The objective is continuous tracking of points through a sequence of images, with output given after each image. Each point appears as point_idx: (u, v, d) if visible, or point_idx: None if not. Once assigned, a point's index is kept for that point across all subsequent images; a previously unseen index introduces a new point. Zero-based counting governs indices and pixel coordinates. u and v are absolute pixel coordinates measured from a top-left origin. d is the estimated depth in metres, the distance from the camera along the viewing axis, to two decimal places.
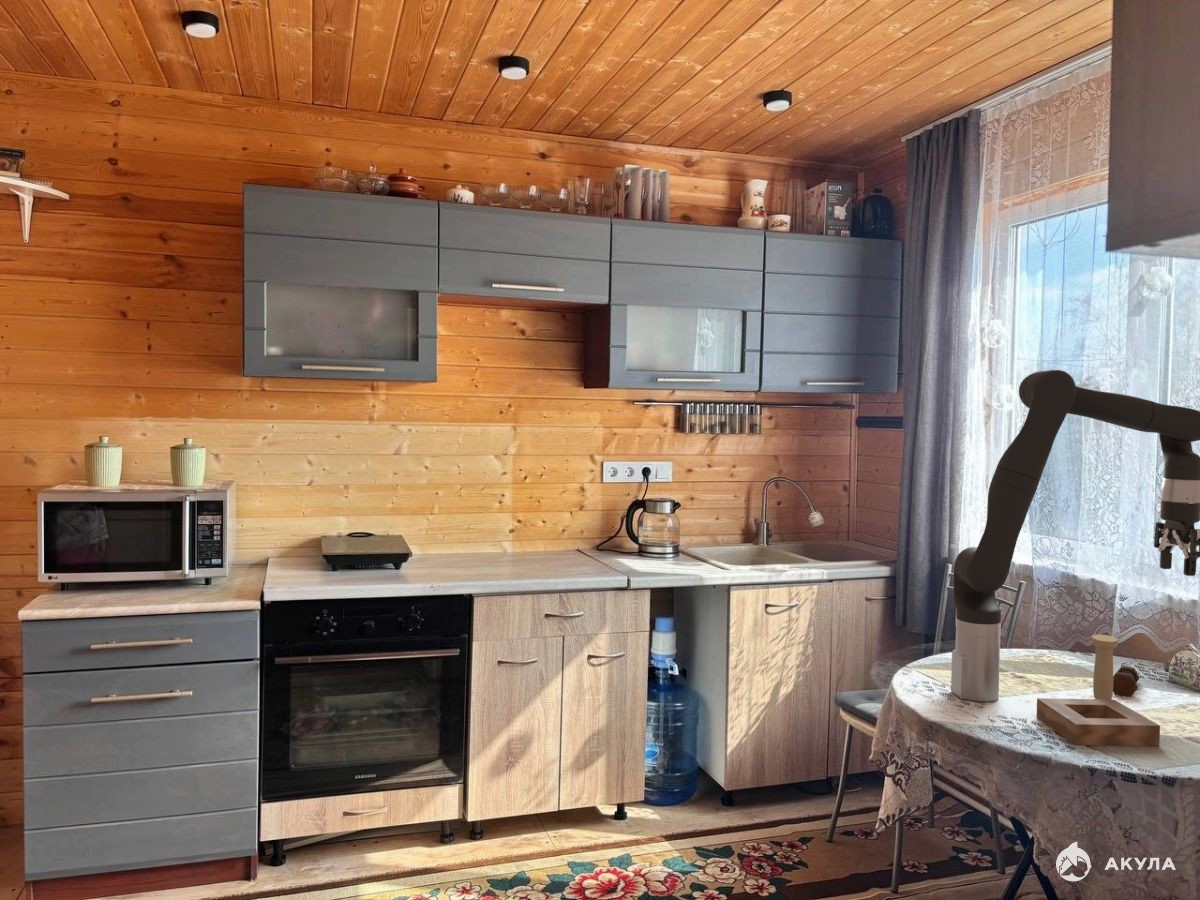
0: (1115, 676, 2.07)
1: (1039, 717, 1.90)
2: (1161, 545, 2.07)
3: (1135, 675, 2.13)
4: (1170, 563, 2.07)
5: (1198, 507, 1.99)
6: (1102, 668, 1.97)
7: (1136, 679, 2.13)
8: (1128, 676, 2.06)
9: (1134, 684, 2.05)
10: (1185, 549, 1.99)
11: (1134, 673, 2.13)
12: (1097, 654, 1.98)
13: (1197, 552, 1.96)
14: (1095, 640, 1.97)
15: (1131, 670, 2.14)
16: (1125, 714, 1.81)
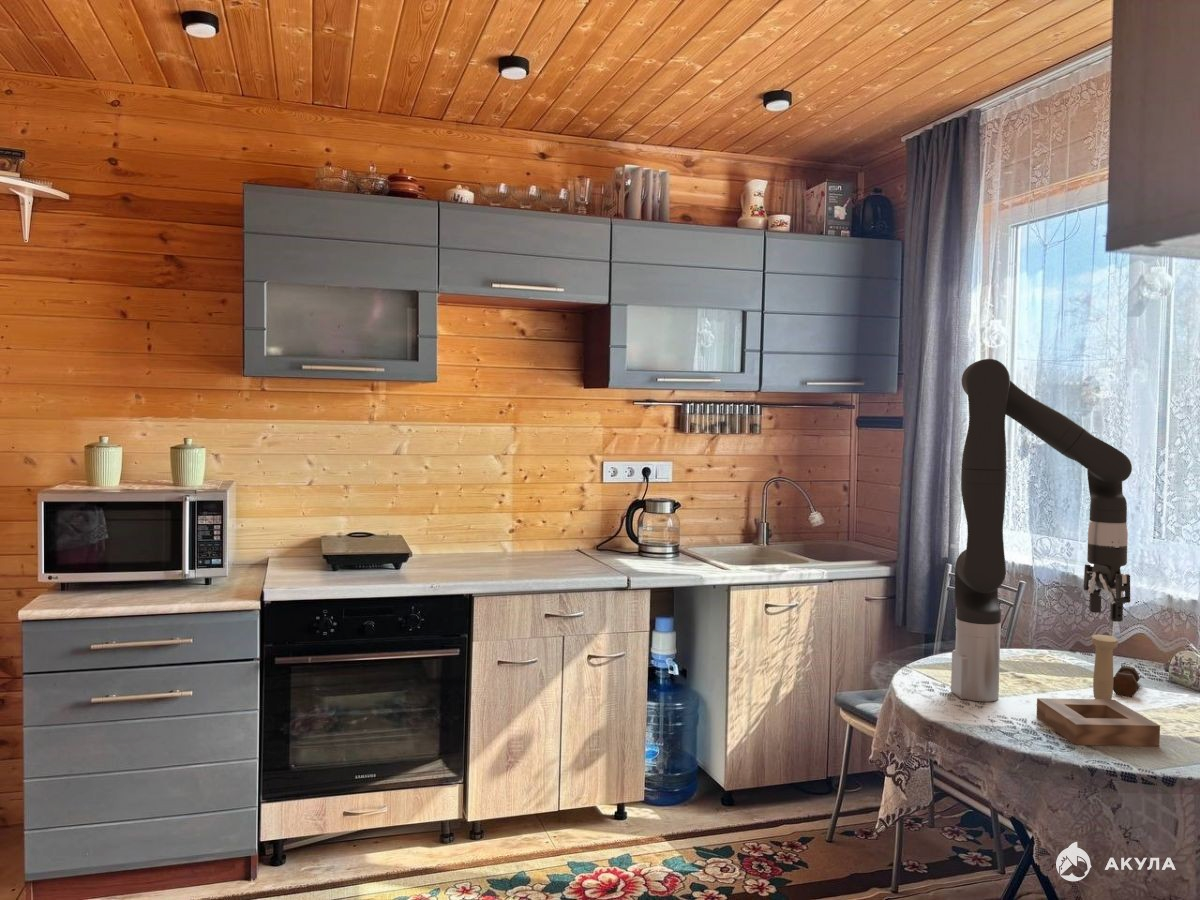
0: (1116, 676, 2.07)
1: (1039, 717, 1.90)
2: (1090, 588, 2.02)
3: (1135, 675, 2.13)
4: (1099, 606, 2.02)
5: (1124, 550, 1.94)
6: (1102, 668, 1.97)
7: (1136, 679, 2.13)
8: (1129, 676, 2.06)
9: (1135, 684, 2.05)
10: (1111, 594, 1.93)
11: (1134, 673, 2.13)
12: (1097, 654, 1.98)
13: (1123, 598, 1.91)
14: (1095, 640, 1.97)
15: (1131, 670, 2.14)
16: (1125, 714, 1.81)
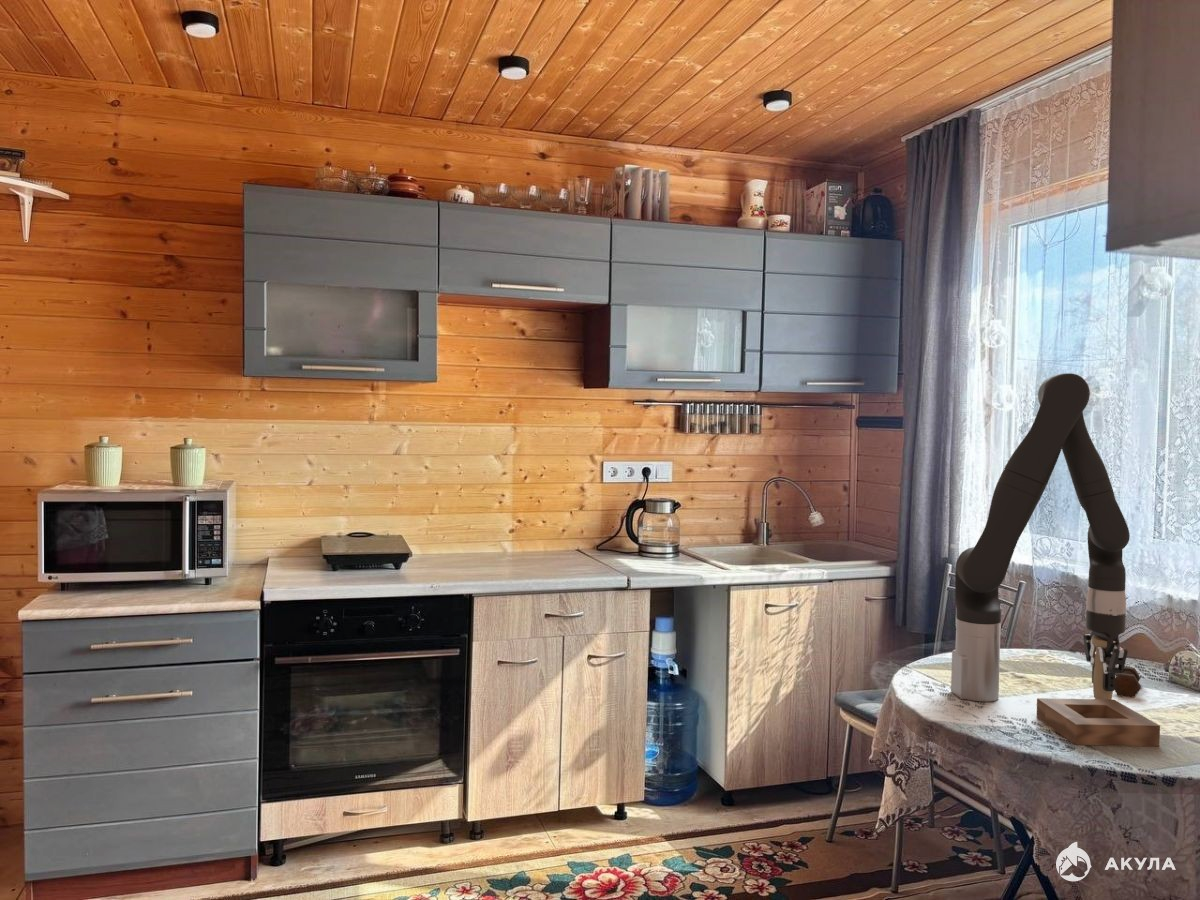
0: (1118, 677, 2.07)
1: (1039, 717, 1.90)
2: (1092, 659, 2.01)
3: (1136, 675, 2.13)
4: None
5: (1122, 619, 1.95)
6: (1102, 668, 1.97)
7: (1137, 679, 2.13)
8: (1131, 677, 2.05)
9: (1137, 685, 2.05)
10: (1105, 664, 1.95)
11: (1135, 673, 2.13)
12: (1097, 654, 1.98)
13: (1115, 668, 1.93)
14: (1095, 640, 1.97)
15: (1132, 670, 2.14)
16: (1125, 714, 1.81)
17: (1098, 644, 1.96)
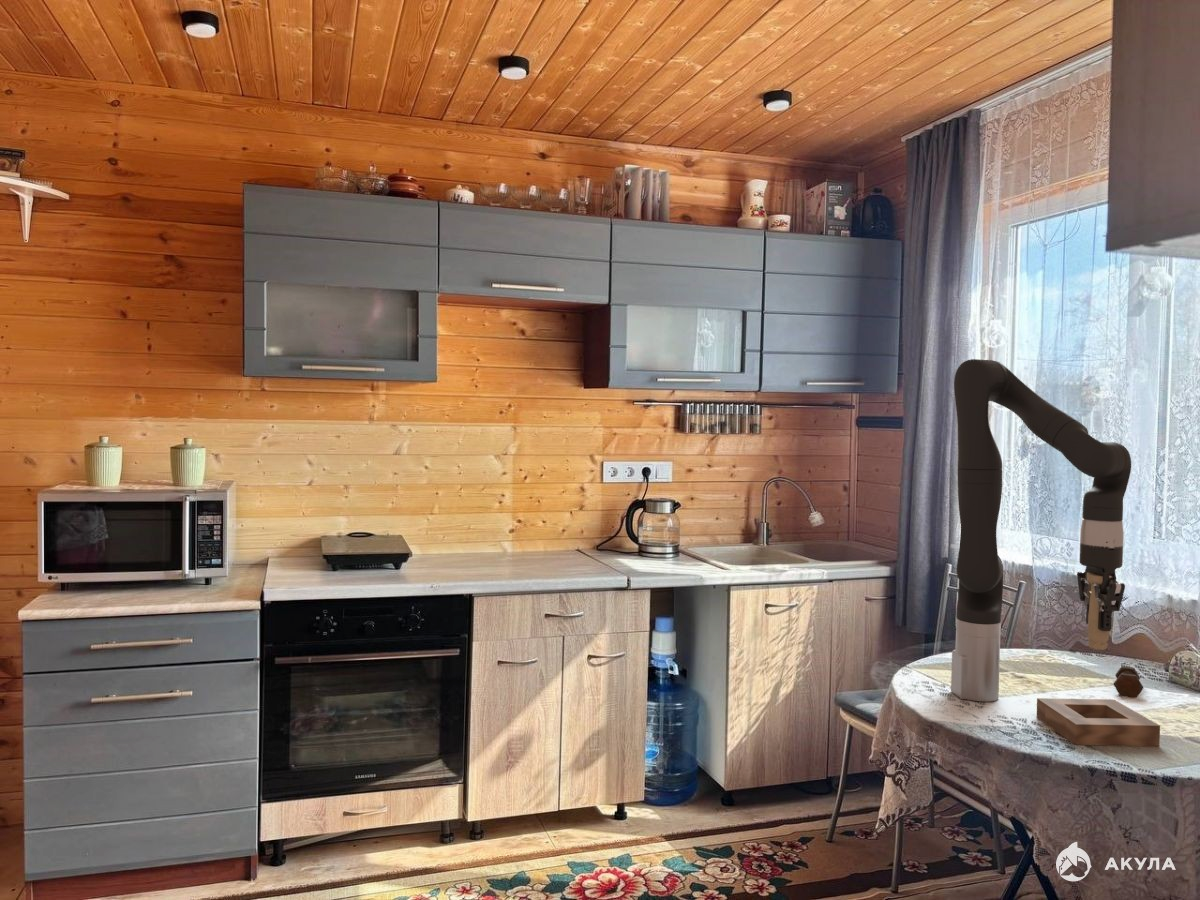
0: (1121, 677, 2.06)
1: (1039, 717, 1.90)
2: (1086, 598, 1.84)
3: (1136, 675, 2.13)
4: None
5: (1119, 551, 1.78)
6: (1097, 606, 1.80)
7: None
8: (1134, 677, 2.05)
9: (1140, 685, 2.04)
10: (1101, 602, 1.79)
11: (1135, 673, 2.13)
12: (1092, 591, 1.81)
13: (1111, 606, 1.77)
14: (1090, 576, 1.81)
15: (1132, 670, 2.14)
16: (1125, 714, 1.81)
17: (1093, 580, 1.80)
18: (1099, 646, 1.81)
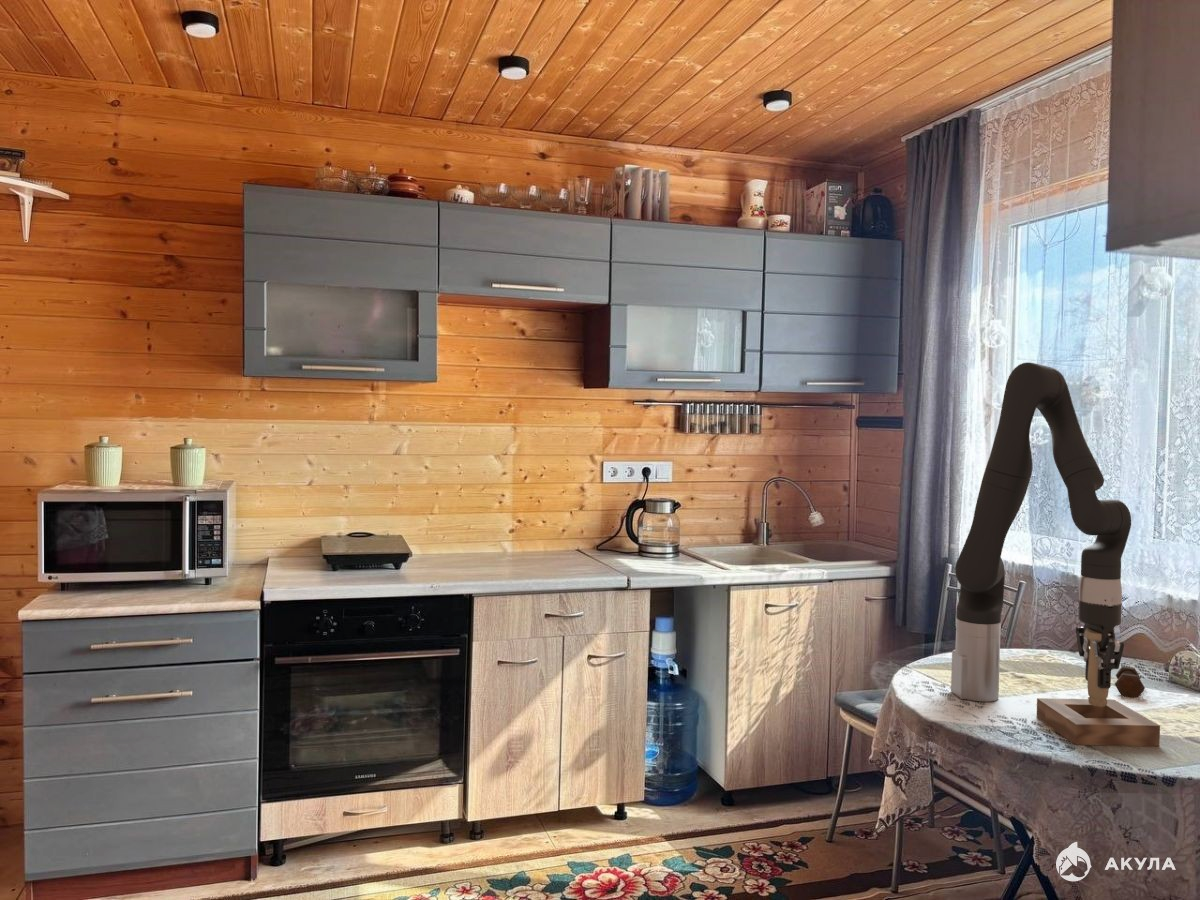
0: (1122, 677, 2.06)
1: (1039, 717, 1.90)
2: (1085, 653, 1.85)
3: None
4: None
5: (1118, 609, 1.79)
6: (1097, 663, 1.81)
7: None
8: (1135, 677, 2.05)
9: (1141, 685, 2.04)
10: (1100, 659, 1.79)
11: (1135, 673, 2.13)
12: (1091, 648, 1.82)
13: (1111, 664, 1.77)
14: (1089, 633, 1.81)
15: (1132, 670, 2.13)
16: (1125, 714, 1.81)
17: (1092, 637, 1.80)
18: (1099, 703, 1.81)
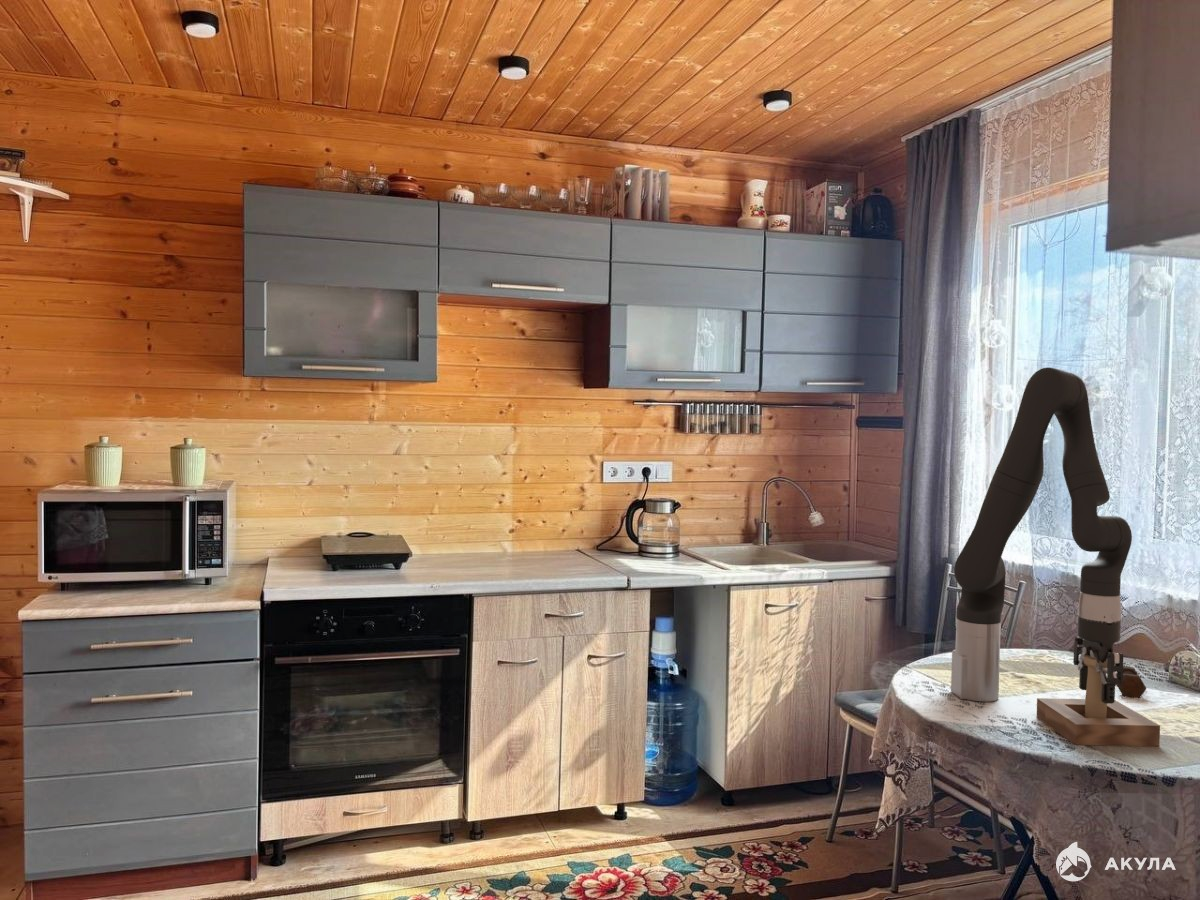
0: (1124, 678, 2.06)
1: (1039, 717, 1.90)
2: (1080, 663, 1.86)
3: (1136, 675, 2.13)
4: None
5: (1117, 626, 1.79)
6: (1094, 690, 1.81)
7: None
8: (1137, 677, 2.05)
9: (1143, 685, 2.04)
10: (1103, 674, 1.78)
11: (1135, 673, 2.13)
12: (1089, 674, 1.82)
13: (1115, 679, 1.75)
14: (1087, 659, 1.81)
15: (1132, 670, 2.13)
16: (1125, 714, 1.81)
17: (1090, 664, 1.80)
18: None
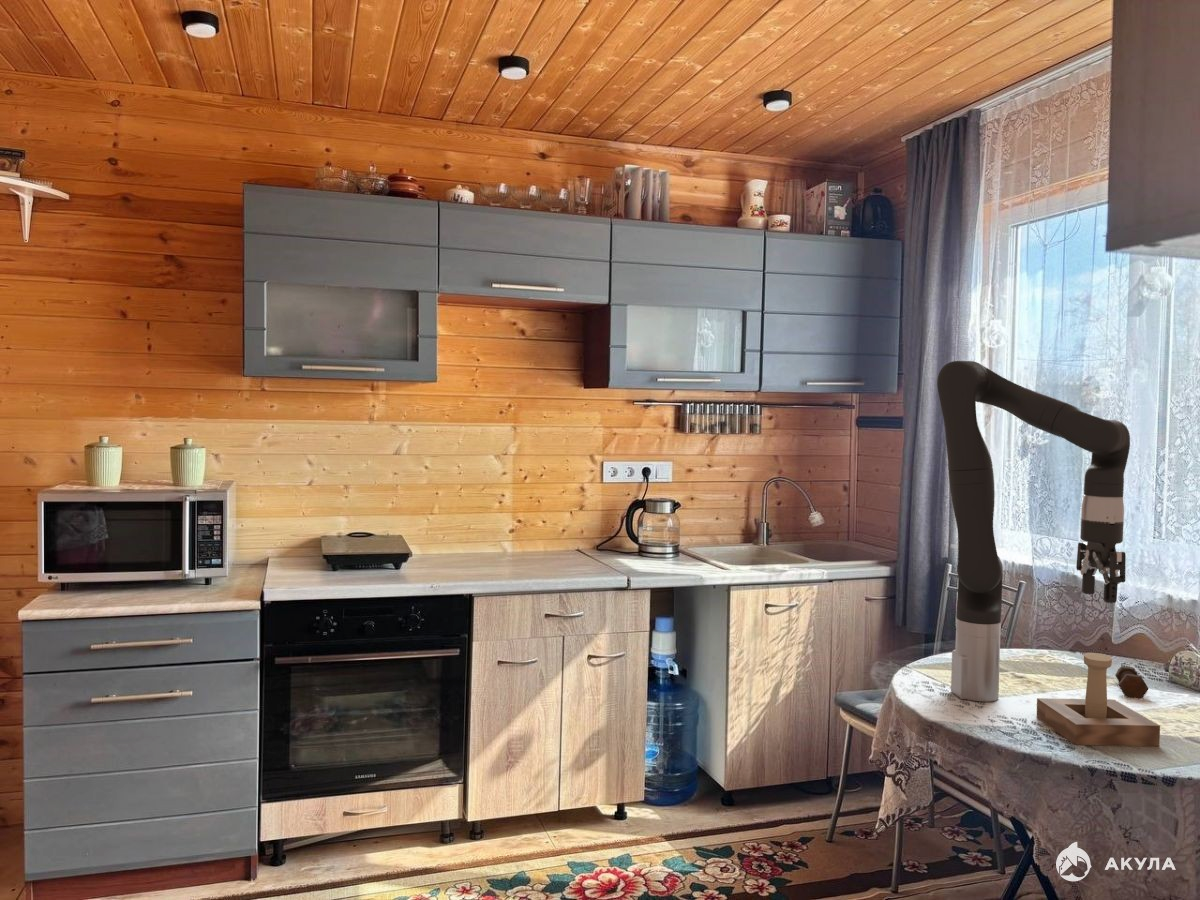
0: (1126, 678, 2.06)
1: (1039, 717, 1.90)
2: (1083, 568, 1.89)
3: (1136, 675, 2.13)
4: (1093, 587, 1.89)
5: (1120, 527, 1.81)
6: (1095, 690, 1.81)
7: None
8: (1139, 678, 2.05)
9: (1145, 685, 2.04)
10: (1105, 573, 1.80)
11: (1135, 673, 2.13)
12: (1089, 674, 1.82)
13: (1117, 577, 1.78)
14: (1087, 659, 1.81)
15: (1132, 670, 2.13)
16: (1125, 714, 1.81)
17: (1090, 664, 1.80)
18: None
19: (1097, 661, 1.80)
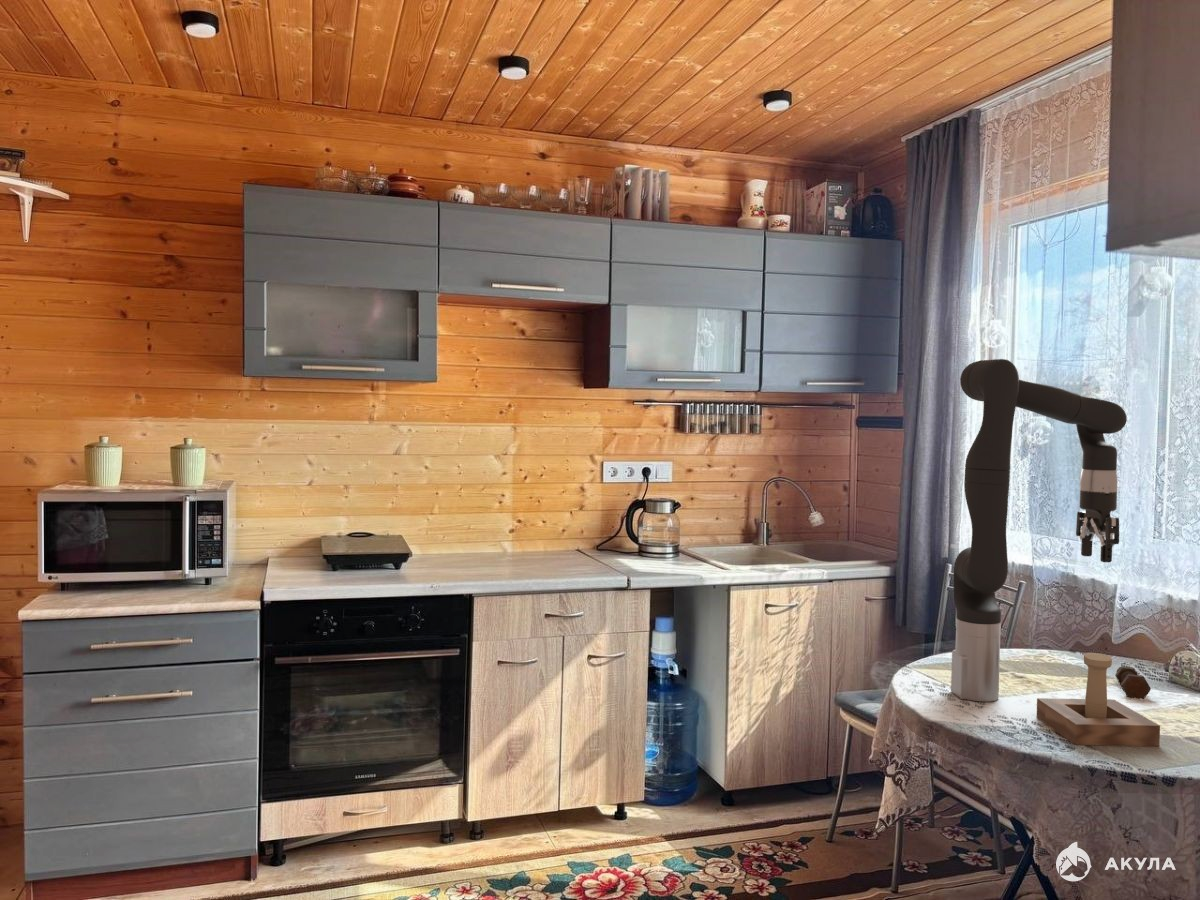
0: (1128, 678, 2.05)
1: (1039, 717, 1.90)
2: (1082, 533, 2.15)
3: None
4: (1091, 551, 2.15)
5: (1114, 496, 2.08)
6: (1095, 690, 1.81)
7: None
8: (1141, 678, 2.04)
9: (1147, 686, 2.04)
10: (1101, 537, 2.07)
11: (1135, 673, 2.13)
12: (1089, 674, 1.82)
13: (1112, 539, 2.04)
14: (1087, 659, 1.81)
15: (1132, 670, 2.13)
16: (1125, 714, 1.81)
17: (1090, 664, 1.80)
18: None
19: (1097, 661, 1.80)
